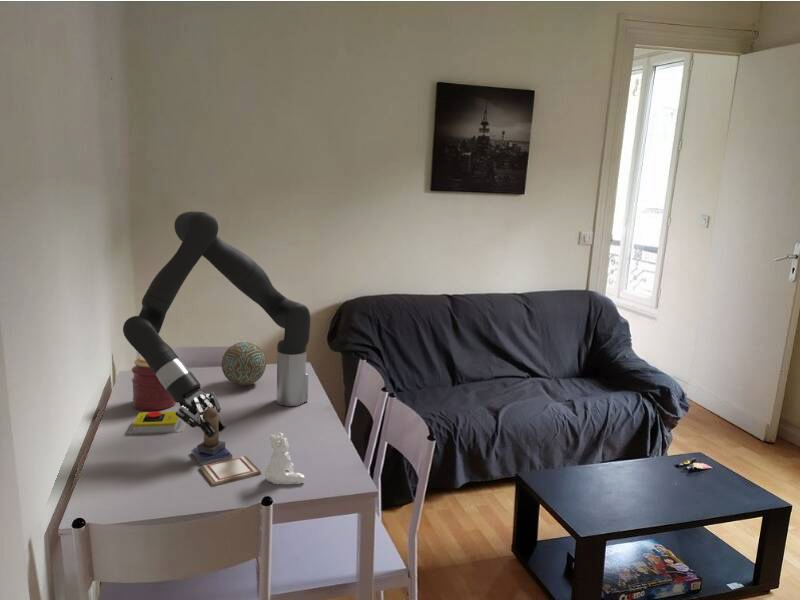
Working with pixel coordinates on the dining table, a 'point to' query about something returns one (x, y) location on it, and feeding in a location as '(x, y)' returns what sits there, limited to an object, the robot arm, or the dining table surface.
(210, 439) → the stamp
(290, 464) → the seated beast figurine
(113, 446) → the dining table surface
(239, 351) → the decorative sphere
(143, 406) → the canister
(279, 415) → the dining table surface
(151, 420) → the emergency button
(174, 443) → the dining table surface
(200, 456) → the ink pad
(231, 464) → the framed board
